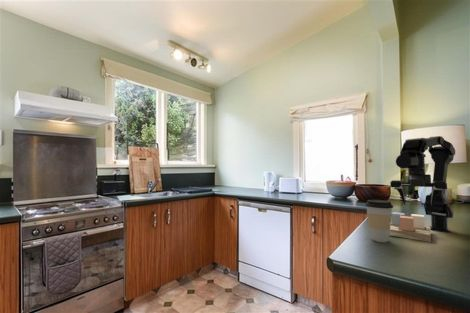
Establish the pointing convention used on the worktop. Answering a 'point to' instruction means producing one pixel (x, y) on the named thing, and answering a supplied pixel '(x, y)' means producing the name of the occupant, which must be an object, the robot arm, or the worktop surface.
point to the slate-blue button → (396, 218)
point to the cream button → (418, 221)
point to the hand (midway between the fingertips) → (417, 205)
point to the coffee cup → (379, 219)
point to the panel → (411, 233)
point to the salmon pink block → (406, 223)
